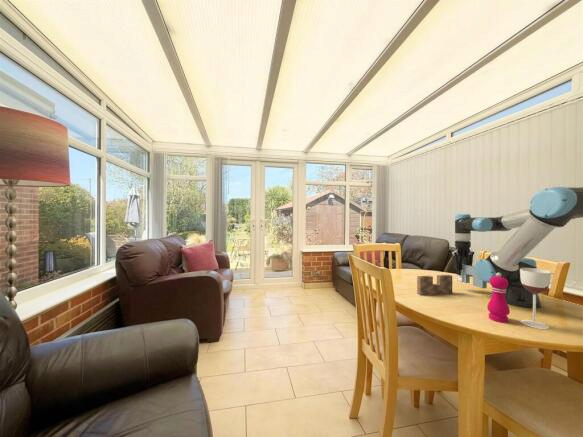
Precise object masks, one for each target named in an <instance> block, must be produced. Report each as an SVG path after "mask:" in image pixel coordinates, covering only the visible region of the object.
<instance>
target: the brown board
mask: <svg viewBox="0 0 583 437" xmlns="http://www.w3.org/2000/svg"><path fill="white" fill-rule="evenodd" d="M416 277H417V278H416V280H417V281H416V284H417V286H416V288H417V289H416V294H417V295H419V296H429V295H431V296H432V295H433V296H434V295H447V294H448V295H449V294H453V275H451V274H437V275H436V283H434V276H432V275H417V276H416Z"/></svg>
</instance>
